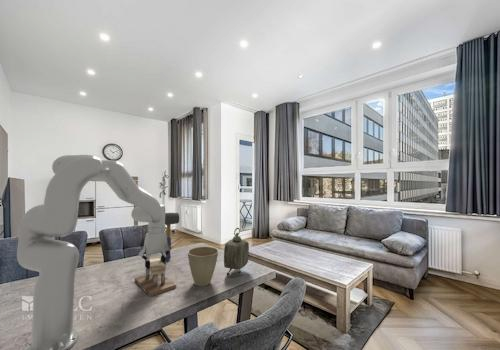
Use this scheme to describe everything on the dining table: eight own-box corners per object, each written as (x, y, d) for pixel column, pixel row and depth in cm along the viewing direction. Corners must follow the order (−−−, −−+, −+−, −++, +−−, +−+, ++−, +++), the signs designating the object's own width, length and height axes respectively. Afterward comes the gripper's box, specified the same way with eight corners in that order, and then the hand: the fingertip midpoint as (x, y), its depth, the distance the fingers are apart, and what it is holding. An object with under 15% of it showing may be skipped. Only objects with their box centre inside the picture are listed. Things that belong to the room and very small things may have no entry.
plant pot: (181, 282, 113) (182, 250, 114) (206, 274, 124) (207, 245, 124) (197, 293, 103) (198, 258, 103) (223, 283, 113) (224, 251, 114)
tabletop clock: (234, 267, 135) (235, 225, 136) (249, 269, 132) (249, 226, 132) (223, 276, 122) (224, 229, 122) (238, 279, 118) (239, 231, 119)
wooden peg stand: (176, 287, 108) (176, 273, 108) (150, 296, 100) (150, 281, 100) (158, 274, 122) (159, 262, 122) (134, 281, 114) (135, 268, 114)
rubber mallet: (157, 263, 138) (159, 214, 139) (156, 259, 144) (157, 212, 145) (178, 260, 144) (180, 213, 145) (176, 256, 150) (177, 211, 151)
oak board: (165, 272, 107) (165, 265, 107) (151, 274, 104) (151, 268, 104) (158, 262, 119) (158, 257, 119) (145, 265, 115) (146, 259, 115)
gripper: (170, 226, 120) (169, 260, 120) (135, 230, 108) (133, 268, 108) (176, 228, 115) (175, 264, 114) (140, 233, 103) (139, 273, 102)
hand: (155, 266), depth 111 cm, fingers closed on oak board, 6 cm apart
